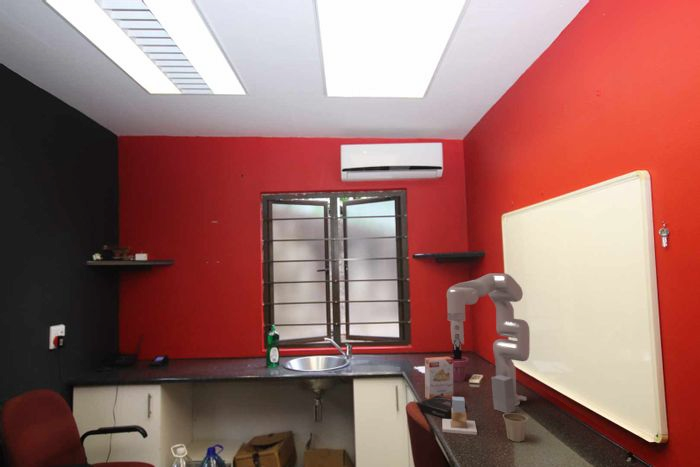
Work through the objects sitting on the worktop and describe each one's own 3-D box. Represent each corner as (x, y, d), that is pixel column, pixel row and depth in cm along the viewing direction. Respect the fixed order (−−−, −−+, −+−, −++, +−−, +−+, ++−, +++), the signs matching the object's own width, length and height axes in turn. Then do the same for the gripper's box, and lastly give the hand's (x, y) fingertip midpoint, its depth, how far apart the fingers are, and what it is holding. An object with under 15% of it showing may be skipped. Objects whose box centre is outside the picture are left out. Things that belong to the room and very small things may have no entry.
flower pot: (522, 433, 173) (521, 412, 174) (532, 443, 164) (531, 421, 164) (499, 434, 173) (499, 413, 173) (509, 444, 163) (508, 421, 164)
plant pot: (469, 383, 245) (469, 361, 246) (445, 382, 248) (445, 360, 249) (468, 376, 259) (467, 356, 260) (444, 375, 262) (444, 355, 263)
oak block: (465, 422, 182) (465, 408, 182) (466, 427, 176) (466, 413, 177) (451, 421, 183) (451, 407, 184) (452, 426, 177) (451, 412, 178)
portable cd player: (466, 411, 200) (466, 403, 201) (446, 421, 189) (446, 411, 189) (438, 403, 212) (438, 395, 213) (417, 411, 201) (417, 403, 201)
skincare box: (516, 411, 198) (515, 377, 199) (505, 414, 195) (504, 380, 196) (501, 406, 206) (500, 373, 207) (491, 409, 202) (490, 375, 203)
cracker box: (429, 401, 214) (429, 360, 215) (424, 397, 219) (424, 357, 221) (454, 399, 217) (453, 358, 219) (448, 395, 223) (447, 355, 225)
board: (474, 423, 184) (474, 420, 184) (477, 434, 172) (477, 431, 172) (442, 421, 187) (442, 418, 187) (442, 432, 175) (442, 428, 175)
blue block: (464, 408, 182) (463, 397, 182) (465, 412, 177) (464, 400, 178) (452, 408, 183) (452, 396, 183) (453, 412, 178) (452, 400, 178)
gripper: (466, 319, 174) (467, 361, 172) (464, 314, 191) (465, 352, 189) (447, 319, 175) (448, 360, 174) (447, 314, 192) (448, 352, 191)
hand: (457, 356), depth 182 cm, fingers open, 9 cm apart
